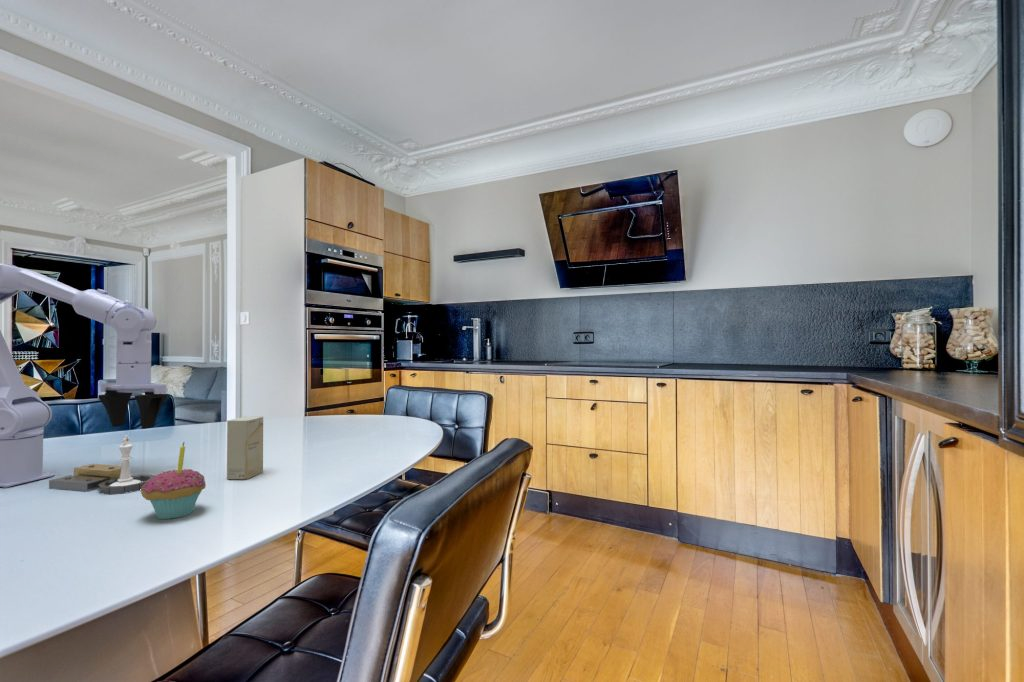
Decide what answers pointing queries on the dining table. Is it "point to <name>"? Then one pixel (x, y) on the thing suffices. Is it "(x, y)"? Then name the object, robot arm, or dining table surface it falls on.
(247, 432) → the skincare box
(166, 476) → the cupcake
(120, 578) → the dining table surface
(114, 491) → the dark gray flat piece
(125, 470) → the chess piece
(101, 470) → the tan wooden block
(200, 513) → the dining table surface
